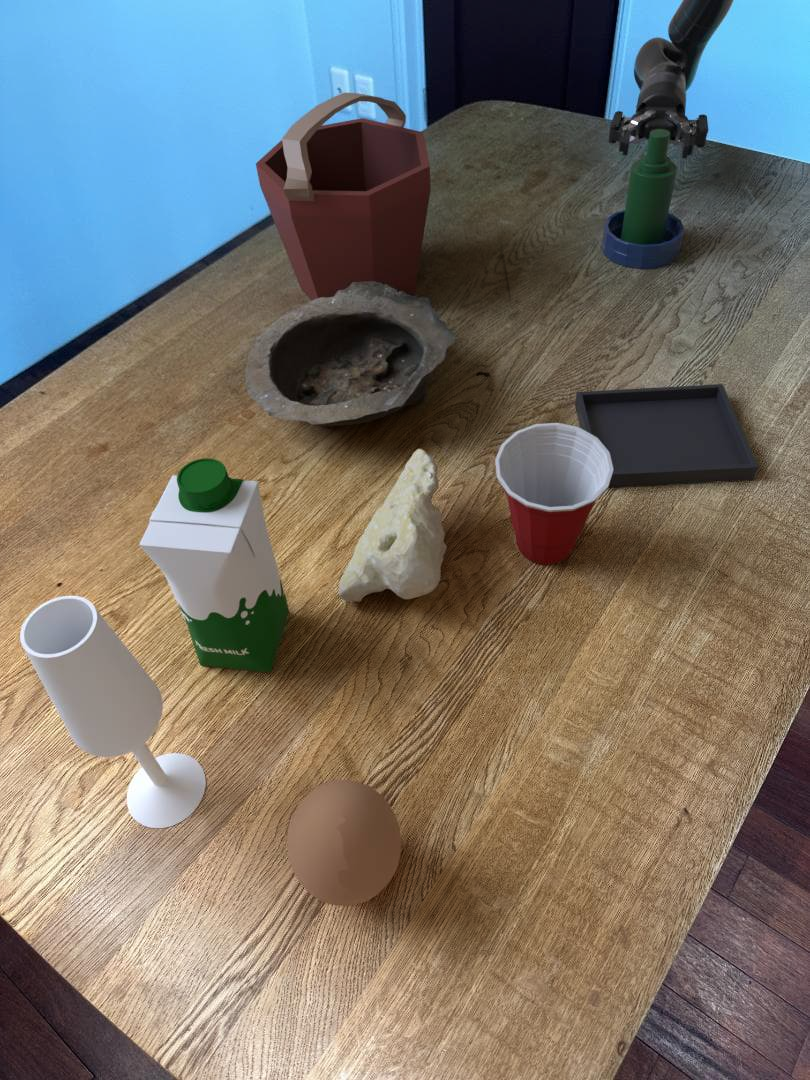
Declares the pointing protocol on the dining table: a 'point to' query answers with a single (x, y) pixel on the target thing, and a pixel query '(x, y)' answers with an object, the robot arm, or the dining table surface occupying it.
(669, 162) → the bottle
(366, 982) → the dining table surface
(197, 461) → the milk carton
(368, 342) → the stone bowl
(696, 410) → the tray
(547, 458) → the plastic cup
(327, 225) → the bucket
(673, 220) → the bowl
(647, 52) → the robot arm
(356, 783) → the egg
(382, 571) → the cheese
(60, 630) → the champagne flute
